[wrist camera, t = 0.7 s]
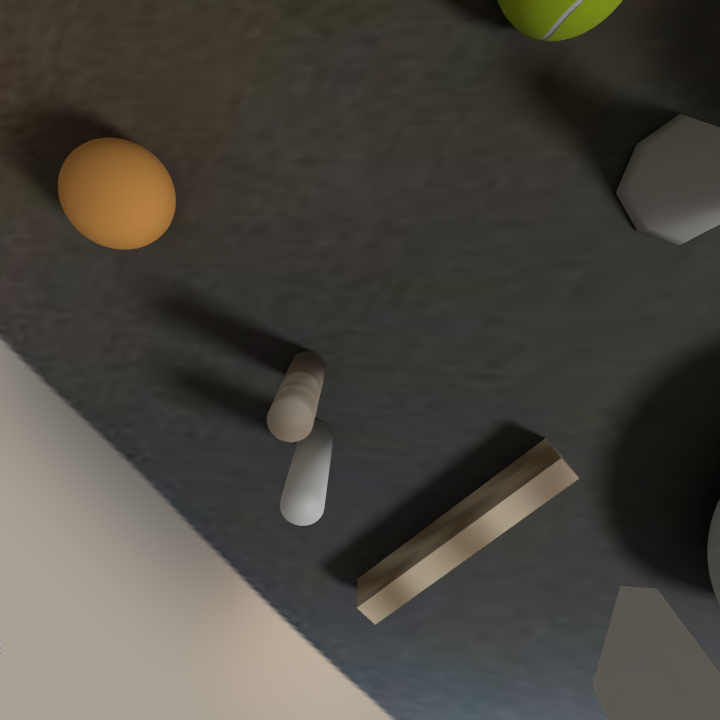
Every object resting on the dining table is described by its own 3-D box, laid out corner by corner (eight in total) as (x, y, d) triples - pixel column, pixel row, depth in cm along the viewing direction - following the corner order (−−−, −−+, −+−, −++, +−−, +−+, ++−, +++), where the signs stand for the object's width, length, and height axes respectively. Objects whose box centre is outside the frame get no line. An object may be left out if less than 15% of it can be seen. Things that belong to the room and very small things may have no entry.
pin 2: (296, 423, 36) (275, 491, 27) (329, 416, 36) (318, 483, 27) (304, 453, 37) (286, 529, 28) (336, 447, 37) (328, 521, 28)
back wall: (374, 594, 40) (375, 624, 37) (357, 579, 40) (356, 607, 37) (562, 457, 37) (579, 478, 34) (545, 438, 36) (561, 458, 33)
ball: (78, 156, 31) (14, 145, 25) (172, 134, 31) (128, 117, 25) (112, 254, 33) (59, 264, 27) (202, 234, 32) (167, 240, 27)
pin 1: (286, 354, 35) (261, 404, 26) (321, 347, 34) (307, 394, 26) (295, 387, 35) (273, 445, 27) (329, 380, 35) (318, 437, 27)
